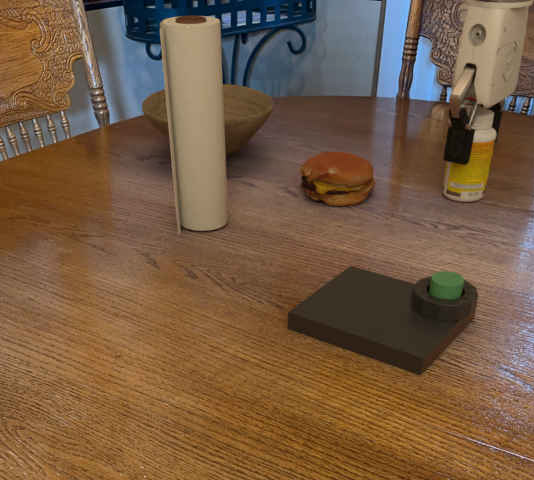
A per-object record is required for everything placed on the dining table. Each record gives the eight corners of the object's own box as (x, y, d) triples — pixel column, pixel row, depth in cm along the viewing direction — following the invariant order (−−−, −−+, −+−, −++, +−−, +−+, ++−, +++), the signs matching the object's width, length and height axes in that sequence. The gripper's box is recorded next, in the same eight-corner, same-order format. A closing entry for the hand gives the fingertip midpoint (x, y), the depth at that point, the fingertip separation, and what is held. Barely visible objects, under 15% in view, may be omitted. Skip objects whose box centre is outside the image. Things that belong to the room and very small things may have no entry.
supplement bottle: (491, 202, 91) (509, 116, 84) (450, 205, 90) (465, 119, 83) (473, 186, 95) (489, 104, 88) (435, 189, 94) (448, 106, 88)
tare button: (466, 291, 66) (469, 276, 65) (453, 304, 64) (456, 288, 63) (437, 283, 67) (439, 268, 66) (423, 295, 66) (426, 280, 65)
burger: (365, 180, 97) (368, 144, 94) (379, 205, 90) (383, 168, 87) (294, 183, 96) (295, 147, 93) (304, 209, 90) (305, 171, 86)
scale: (480, 319, 69) (487, 286, 66) (425, 378, 61) (431, 343, 59) (351, 280, 75) (354, 249, 72) (287, 329, 67) (287, 296, 65)
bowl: (227, 188, 95) (224, 125, 89) (122, 164, 102) (114, 104, 97) (295, 151, 106) (296, 93, 101) (197, 132, 114) (193, 76, 108)
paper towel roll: (218, 210, 89) (208, 11, 75) (235, 228, 85) (228, 21, 71) (164, 219, 87) (143, 16, 73) (178, 237, 83) (159, 26, 69)
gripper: (504, 1, 70) (471, 178, 82) (559, -20, 81) (522, 140, 93) (436, -6, 74) (413, 166, 85) (497, -25, 84) (469, 130, 96)
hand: (470, 152), depth 89 cm, fingers open, 8 cm apart
